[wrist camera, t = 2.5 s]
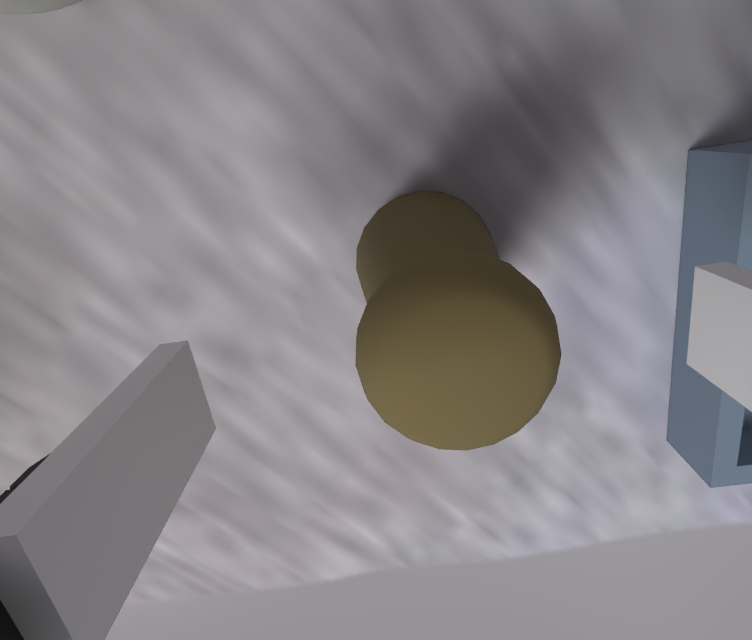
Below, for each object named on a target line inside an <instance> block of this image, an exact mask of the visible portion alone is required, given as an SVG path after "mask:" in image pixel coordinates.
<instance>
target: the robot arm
mask: <svg viewBox="0 0 752 640" xmlns="http://www.w3.org/2000/svg"><path fill="white" fill-rule="evenodd" d="M687 365H689V366H690V367H691V368H693V369H694V370H695V371H697V372H698V373H700V374H701V375H702V376H704V377H705V378H706V379H708V380H709V381H710V382H712V383H713V384H714V385H716V386H717V387H719V388H720V389H721V390H723V391H724V392H725V393H727V394H728V395H729V396H731V397H732V398H733V399H735V400H736V401H738V402H739V403H740V404H742V405H743V406H744V407H746V408H747V409H748V410H750V411H751V412H752V271H750V270H748V269H745V268H742V267H739V266H737V265H734V264H731V263H729V262H720V263H714V264H707V265H700V266H695V272H694V284H693V295H692V307H691V318H690V330H689V341H688V353H687ZM215 429H216V427H215V424H214V421H213V418H212V415H211V411H210V408H209V405H208V402H207V399H206V396H205V393H204V390H203V386H202V383H201V380H200V377H199V374H198V371H197V368H196V365H195V361H194V358H193V355H192V352H191V349H190V346H189V343H188V340H187V341H181V342H174V343H167V344H160V345H159V346H158V347H157V348H156V349H155V350H154V351H153V352H152V353H151V354H150V355H149V356H148V357H147V358H146V359H145V360H144V361H143V362H142V363H141V364H140V365H139V366H138V367H137V368H136V369H135V370H134V371H133V372H132V373H131V374H130V375H129V376H128V377H127V378H126V379H125V380H124V381H123V382H122V383H121V384H120V385H119V386H118V387H117V388H116V389H115V390H114V391H113V392H112V393H111V394H110V395H109V396H108V397H107V398H106V399H105V400H104V401H103V402H102V403H101V404H100V405H99V406H98V407H97V408H96V409H95V410H94V411H93V412H92V413H91V414H90V415H89V416H88V417H87V418H86V419H85V420H84V421H83V422H82V423H81V424H80V425H79V426H78V427H77V428H76V429H75V430H74V431H73V432H72V433H71V434H70V435H69V436H68V437H67V438H66V439H65V440H64V441H63V442H62V443H61V444H60V445H59V446H58V447H57V448H56V449H55V450H54V451H53V452H52V453H50V454H49V455H47V456H46V457H44V458H43V459H41V460H40V461H38V462H37V463H35V464H34V465H32V466H31V467H29V468H28V469H27V470H26V471H25V472H24V473H23V474H22V475H21V476H20V477H19V478H18V479H17V480H16V481H15V482H14V483H13V484H12V485H11V486H10V490H6V491H5V492H4V493H3V494H2V495H1V496H0V640H105V638H106V636H107V634H108V632H109V630H110V628H111V626H112V624H113V622H114V620H115V619H116V617H117V615H118V613H119V611H120V609H121V607H122V605H123V604H124V602H125V600H126V598H127V596H128V594H129V592H130V590H131V588H132V587H133V585H134V583H135V581H136V579H137V577H138V575H139V573H140V571H141V569H142V568H143V566H144V564H145V562H146V560H147V558H148V556H149V554H150V552H151V551H152V549H153V547H154V545H155V543H156V541H157V539H158V537H159V535H160V533H161V532H162V530H163V528H164V526H165V524H166V522H167V520H168V518H169V516H170V514H171V513H172V511H173V509H174V507H175V505H176V503H177V501H178V499H179V497H180V496H181V494H182V492H183V490H184V488H185V486H186V484H187V482H188V480H189V478H190V477H191V475H192V473H193V471H194V469H195V467H196V465H197V463H198V461H199V460H200V458H201V456H202V454H203V452H204V450H205V448H206V446H207V444H208V442H209V441H210V439H211V437H212V435H213V433H214V431H215Z"/></svg>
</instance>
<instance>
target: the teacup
mask: <svg viewBox="0 0 752 640" xmlns="http://www.w3.org/2000/svg"><path fill="white" fill-rule="evenodd" d="M79 1H81V0H0V14H36V13H44V12H49V11H54V10H58V9H61V8H64V7H67V6H70V5H72V4H75V3H77V2H79Z"/></svg>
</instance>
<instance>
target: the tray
mask: <svg viewBox="0 0 752 640" xmlns="http://www.w3.org/2000/svg"><path fill="white" fill-rule="evenodd" d="M720 262H729V263H731V264H734V265H737V266H739V267H742V268H745V269H748V270H750V271H752V140H750V141H744V142H737V143H731V144H724V145H718V146H711V147H705V148H699V149H692V150H688V162H687V175H686V188H685V202H684V215H683V228H682V242H681V255H680V268H679V282H678V295H677V309H676V322H675V335H674V349H673V362H672V375H671V389H670V402H669V416H668V429H667V441H668V442H669V443H670V444H671V446H672V447H673V448H674V449H675V450H676V451H677V452H678V453H679V454H680V455H681V456H682V457H683V459H684V460H685V461H686V462H687V463H688V464H689V465H690V466H691V467H692V468H693V469H694V470H695V472H696V473H697V474H698V475H699V476H700V477H701V478H702V479H703V480H704V481H705V482H706V483H707V485H708V486H709V487H710V488H713V487H722V486H731V485H740V484H749V483H752V412H751V411H750V410H748V409H747V408H746V407H744V406H743V405H742V404H740V403H739V402H738V401H736V400H735V399H733V398H732V397H731V396H729V395H728V394H727V393H725V392H724V391H723V390H721V389H720V388H719V387H717V386H716V385H714V384H713V383H712V382H710V381H709V380H708V379H706V378H705V377H704V376H702V375H701V374H700V373H698V372H697V371H695V370H694V369H693V368H691V367H690V366H689V365H687V353H688V341H689V330H690V318H691V307H692V295H693V284H694V272H695V266H700V265H707V264H714V263H720Z"/></svg>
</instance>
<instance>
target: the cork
mask: <svg viewBox="0 0 752 640" xmlns="http://www.w3.org/2000/svg"><path fill="white" fill-rule="evenodd" d="M356 270H357V273H358V276H359V280H360V283H361V286H362V290H363V293H364V296H365V299H366V302H367V305H366V308H365V310H364V313H363V316H362V318H361V321H360V323H359V326H358V330H357V337H356V368H357V371H358V374H359V377H360V380H361V383H362V386H363V389H364V392H365V394H366V397H367V399H368V401H369V402H370V403H371V405H372V406H373V407H374V409H375V410H376V411H377V413H378V414H379V415H380V417H381V418H382V419H383V420H384V422H385V423H387V424H388V425H390V426H391V427H392V428H394V429H395V430H397V431H398V432H400V433H401V434H403V435H404V436H405V437H407V438H409V439H411V440H413V441H416V442H419V443H422V444H425V445H428V446H431V447H434V448H438V449H446V450H471V449H475V448H480V447H484V446H489V445H493V444H495V443H497V442H499V441H501V440H503V439H505V438H507V437H509V436H511V435H513V434H515V433H517V432H518V431H519V430H520V429H522V428H523V427H524V426H525V425H526V424H527V423H528V422H529V421H530V420H531V419H532V418H533V417H534V416H535V415H536V414H538V412H539V411H540V409H541V407H542V406H543V404H544V402H545V400H546V399H547V397H548V395H549V393H550V392H551V390H552V388H553V387H554V385H555V383H556V379H557V374H558V369H559V364H560V359H561V349H560V343H559V336H558V330H557V324H556V320H555V316H554V314H553V312H552V310H551V309H550V307H549V305H548V303H547V302H546V300H545V298H544V296H543V295H542V293H541V291H540V289H538V288H537V287H536V286H535V285H534V284H533V283H532V282H531V281H530V280H528V279H527V278H526V277H525V276H524V275H522V274H521V273H520V272H519V271H518V270H516V269H515V268H514V267H513V266H512V265H511V264H509V263H507V262H504V261H501V260H499V258H498V255H497V252H496V249H495V247H494V244H493V241H492V238H491V235H490V233H489V231H488V229H487V228H486V226H485V224H484V222H483V221H482V219H481V217H480V216H479V214H478V213H476V212H475V211H474V210H473V209H472V208H471V207H469V206H468V205H467V204H466V203H465V202H464V201H462V200H460V199H457V198H455V197H452V196H449V195H447V194H444V193H442V192H420V191H419V192H415V193H412V194H408V195H405V196H401V197H398V198H396V199H394V200H393V201H391V202H390V203H388V204H387V205H385V206H384V207H382V208H381V209H379V210H378V211H377V212H376V214H375V215H374V216H373V217H372V219H371V220H370V221H369V223H368V224H367V225H366V226H365V228H364V230H363V233H362V236H361V238H360V241H359V244H358V247H357V263H356Z"/></svg>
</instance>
